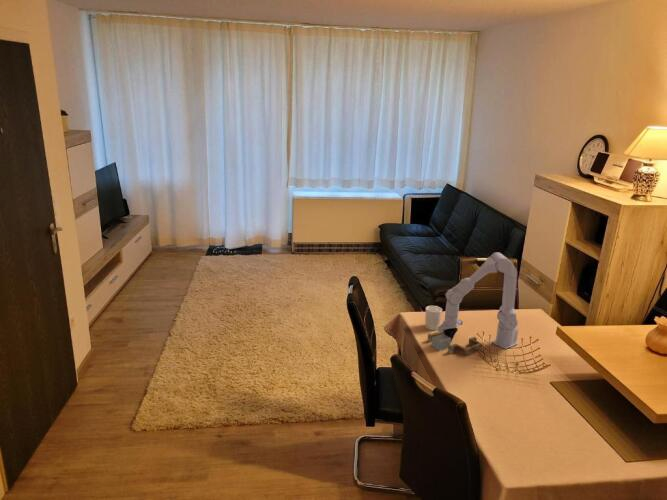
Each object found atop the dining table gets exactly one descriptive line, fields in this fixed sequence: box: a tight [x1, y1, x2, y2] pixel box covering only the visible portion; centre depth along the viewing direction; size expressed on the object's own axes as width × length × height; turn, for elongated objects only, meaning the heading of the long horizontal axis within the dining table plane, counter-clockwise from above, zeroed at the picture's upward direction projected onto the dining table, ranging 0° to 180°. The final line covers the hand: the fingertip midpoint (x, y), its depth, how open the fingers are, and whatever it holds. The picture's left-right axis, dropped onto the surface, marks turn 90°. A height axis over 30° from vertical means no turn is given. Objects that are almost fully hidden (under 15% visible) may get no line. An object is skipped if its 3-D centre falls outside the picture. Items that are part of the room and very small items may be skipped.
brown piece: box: [427, 331, 483, 357], centre depth 228 cm, size 17×19×4 cm
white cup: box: [424, 305, 443, 331], centre depth 243 cm, size 8×8×10 cm
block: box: [431, 334, 452, 352], centre depth 225 cm, size 7×5×4 cm
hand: (448, 341), depth 229 cm, fingers closed
